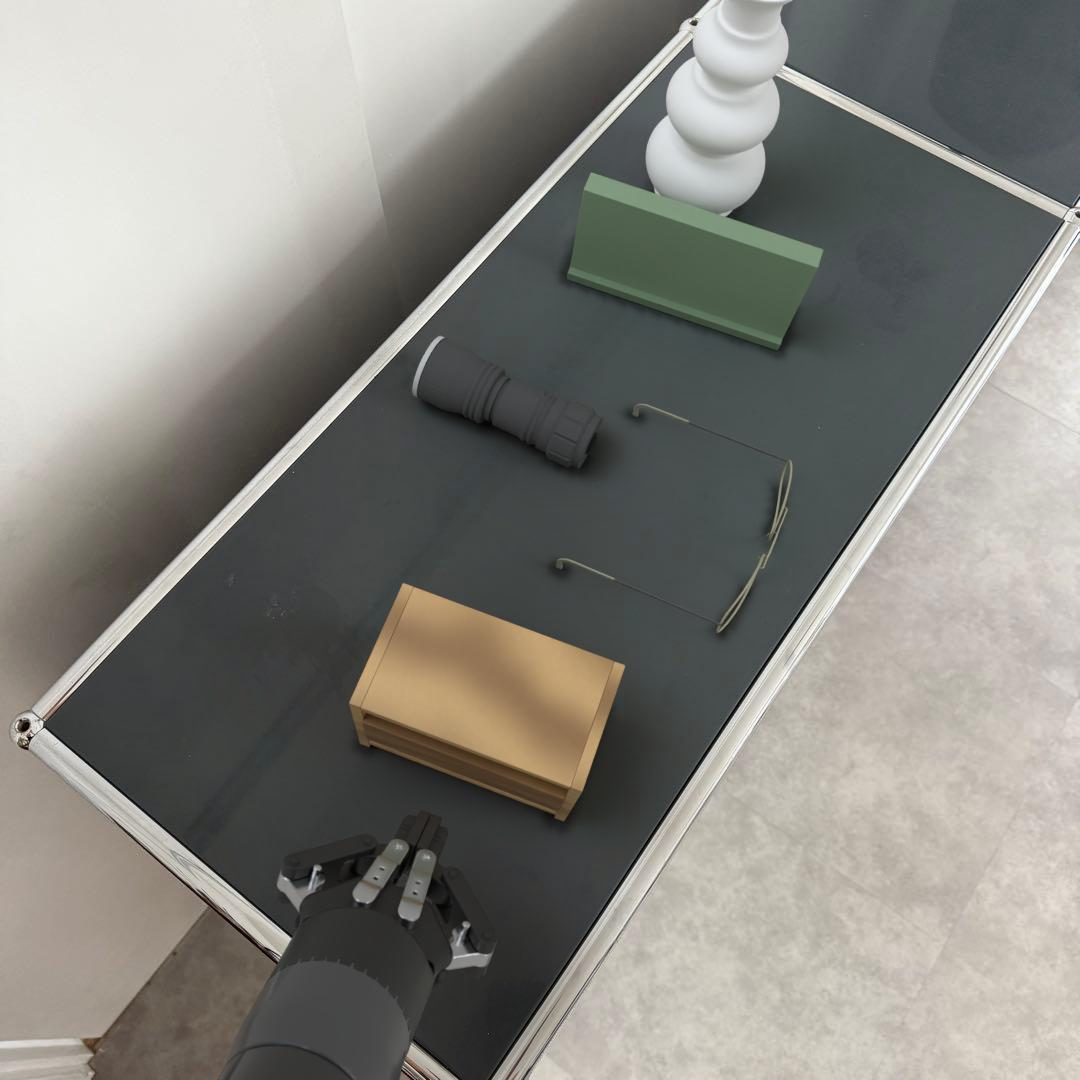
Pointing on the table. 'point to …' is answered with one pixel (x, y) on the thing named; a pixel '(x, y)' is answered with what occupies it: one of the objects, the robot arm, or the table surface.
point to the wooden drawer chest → (485, 700)
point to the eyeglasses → (635, 413)
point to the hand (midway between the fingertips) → (427, 824)
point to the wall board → (690, 261)
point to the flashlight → (505, 402)
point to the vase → (721, 108)
